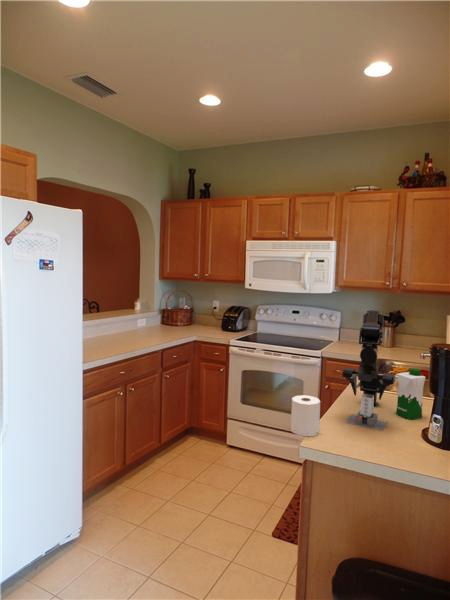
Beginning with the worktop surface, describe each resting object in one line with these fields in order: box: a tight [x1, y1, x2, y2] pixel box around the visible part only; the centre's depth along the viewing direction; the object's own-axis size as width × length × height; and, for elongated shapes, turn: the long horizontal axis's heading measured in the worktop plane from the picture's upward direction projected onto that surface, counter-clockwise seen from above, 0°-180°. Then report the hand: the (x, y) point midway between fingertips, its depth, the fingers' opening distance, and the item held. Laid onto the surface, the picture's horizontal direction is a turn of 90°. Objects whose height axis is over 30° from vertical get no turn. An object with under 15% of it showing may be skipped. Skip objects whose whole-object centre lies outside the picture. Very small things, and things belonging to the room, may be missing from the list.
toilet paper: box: [290, 394, 321, 437], centre depth 149 cm, size 10×10×12 cm
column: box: [359, 393, 375, 417], centre depth 155 cm, size 5×4×8 cm
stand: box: [344, 410, 388, 432], centre depth 156 cm, size 10×14×4 cm
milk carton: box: [395, 368, 426, 421], centre depth 163 cm, size 9×9×20 cm
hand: (367, 397), depth 155 cm, fingers open, 9 cm apart
